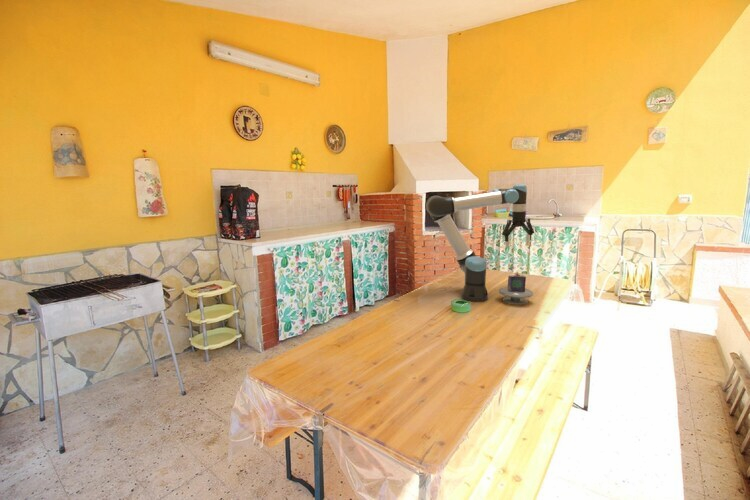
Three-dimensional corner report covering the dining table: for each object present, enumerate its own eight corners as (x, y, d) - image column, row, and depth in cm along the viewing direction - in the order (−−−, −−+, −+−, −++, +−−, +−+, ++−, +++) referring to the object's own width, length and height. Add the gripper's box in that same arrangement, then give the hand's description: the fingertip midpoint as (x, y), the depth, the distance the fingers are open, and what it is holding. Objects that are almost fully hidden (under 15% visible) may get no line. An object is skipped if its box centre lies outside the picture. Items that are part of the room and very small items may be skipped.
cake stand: (511, 308, 191) (512, 297, 190) (491, 298, 208) (492, 288, 207) (539, 304, 196) (540, 294, 194) (518, 295, 213) (518, 285, 211)
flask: (507, 291, 200) (508, 273, 198) (507, 289, 203) (508, 271, 201) (525, 292, 198) (526, 273, 196) (524, 290, 201) (525, 272, 199)
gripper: (503, 212, 206) (502, 248, 210) (541, 210, 211) (539, 245, 215) (496, 211, 213) (495, 246, 217) (533, 209, 218) (532, 243, 222)
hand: (517, 246), depth 216 cm, fingers open, 13 cm apart
